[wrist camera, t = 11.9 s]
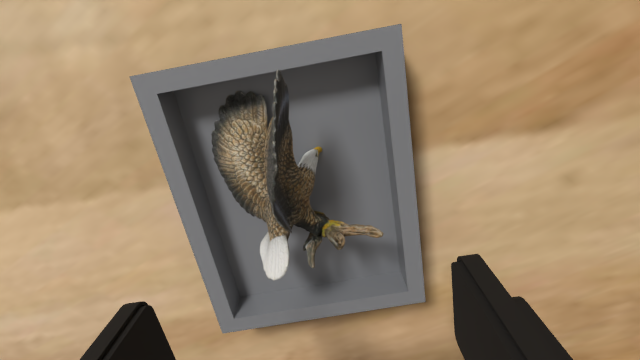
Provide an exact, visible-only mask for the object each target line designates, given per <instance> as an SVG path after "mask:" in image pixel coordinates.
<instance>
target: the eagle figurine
mask: <svg viewBox="0 0 640 360" xmlns="http://www.w3.org/2000/svg"><path fill="white" fill-rule="evenodd" d="M273 99H274V103H273V117H272V119H271V121H270V124H269V127H268V125H267V108H266V102H265V98H264V96H263V95H258V96H256V95H255V94H254V93H253V92H252V91H250V92H248V93H247V94H246V95H245V94H244V93H243V92H241V91H236V93H235V95H228V96H227V98H226V103H225V106H223V105H222V106H220V108H219V118H220V120H216V121H215V122H214V126H215V130H213V131H212V134H211V135H212V140H211V141H212V145H213V147H212V152H213V154H214V161H215V163H216V164H217V166H218V170H219V171H220V174H221V176H222V177H223V178H224V182H225V183H226V184H227V187H228V189H229V190H230V191H231V192H232V195H233V197H234V198H235V200H236V202H238V203H239V205H240V206H241V207H242V208H244V209H245V211H246V212H247V213H248V214H251V216H253V217H254V216H256V217H257V218H259V219H262V220H263V221H264V222H266V223H267V227H268V232H267V234H266V235H265V237H264V238H263V240H262V241H261V244H260V255H261V259H262V262H263V269H264V271H265V272H266V275H267V277H268V278H269V279H272V280H278V279H281V278H282V276H284V275H285V274H286V271H287V270H288V267H289V258H290V255H289V245H288V238H289V235H290V233H292V227H293V225H295V226H297V227H301V228H303V229H305V230H306V231H308V232H310V233H309V236H308V238H307V240H306V241H305V243H304V245H303V251H305V250H306V251H307V256H308V264H309V266H310V267H311V268H315V253H316V250H317V248H318V247H319V245H320V244H321V242H322V237H327V238H328V239H329V241H330V242H331V243H332V244H333V246H334V247H335V248H336V249H337V250H341V249H342V248H343V247H344V245H345V237H346V236H356V235H367V236H369V237H373V238H380V237H383V232H382V231H380V230H379V229H377V228H375V227H373V226H371V225H366V226H365V225H359V224H353V225H348V224H346V223H344V222H341V221H335V220H330V219H329V218H328V217H326V215H325V214H324V213H322V212H319V211H313V209H312V208H311V206H310V201H309V197H310V195H311V193H312V190H313V187H314V182H315V174H316V167H317V162H318V156H319V153H320V152H321V151H322V148H321V147H316V148H314V149H312V150H310V151H308V152H306V153H305V154H304V155H303V157H302V159H301V161H300V162H299V164H298V165H297V164H296V162H295V159H294V154H293V139H292V130H291V127H290V123H289V92H288V87H287V84H286V83H285V82H284V79H283V76H282V75H281V72H280V70H277V71H276V79H275V80H274V91H273Z"/></svg>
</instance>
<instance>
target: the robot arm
mask: <svg viewBox="0 0 640 360" xmlns="http://www.w3.org/2000/svg"><path fill="white" fill-rule="evenodd" d="M451 269H452V289H453V308H454V328H455V336H456V340H457V343H458V346H459V348H460V350H461V353H462V355H463V357H464V359H465V360H573V359H572V358H571V357H570V355H569V354H568V353H567V352H566V350H565V349H564V348H563V347H562V345H561V344H560V343H559V342H558V340H557V339H556V338H555V337H554V335H553V334H552V333H551V332H550V330H549V329H548V328H547V327H546V325H545V324H544V323H543V322H542V320H541V319H540V318H539V317H538V315H537V314H536V313H535V312H534V310H533V309H532V308H531V307H530V305H529V304H528V303H527V302H526V301H525V300H524V299H523V298H522V297H520V296H518V297H511V296H510V295H509V293H508V292H507V291H506V289H505V288H504V287H503V285H502V284H501V283H500V281H499V280H498V279H497V277H496V276H495V275H494V273H493V272H492V271H491V269H490V268H489V267H488V265H487V264H486V263H485V262H484V260H483V259H482V258H481V256H480V255H479V254H473V255H466V256H459V257H458V258H457V262H453V263H452V264H451ZM80 360H176V359H175V357H174V354H173V352H172V350H171V348H170V345H169V343H168V341H167V339H166V336H165V334H164V332H163V330H162V327H161V325H160V323H159V321H158V318H157V316H156V314H155V312H154V309H153V308H152V306H149V305H148V304H147V303H146V302H135V303H128V304H125V305H123V306H122V307H121V308H120V309H119V311H118V312H117V313H116V314H115V316H114V317H113V318H112V319H111V321H110V322H109V323H108V324H107V326H106V327H105V328H104V330H103V331H102V332H101V333H100V335H99V336H98V337H97V338H96V340H95V341H94V342H93V343H92V345H91V346H90V347H89V349H88V350H87V351H86V352H85V354H84V355H83V356H82V357H81V359H80Z"/></svg>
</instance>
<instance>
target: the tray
mask: <svg viewBox="0 0 640 360" xmlns="http://www.w3.org/2000/svg"><path fill="white" fill-rule="evenodd" d="M277 70H280V72H281V75H282V76H283V79H284V82H285V83H286V84H287V87H288V92H289V123H290V127H291V130H292V139H293V154H294V159H295V162H296V164H297V165H298V164H299V162H300V161H301V159H302V157H303V155H304V154H305V153H306V152H308V151H310V150H312V149H314V148H316V147H321V148H322V151H321V152H320V153H319V156H318V162H317V167H316V174H315V182H314V187H313V190H312V193H311V195H310V197H309V201H310V206H311V208H312V209H313V211H319V212H322V213H324V214H325V215H326V217H328V218H329V219H330V220H335V221H341V222H344V223H346V224H348V225H353V224H359V225H365V226H366V225H371V226H373V227H375V228H377V229H379V230H380V231H382V232H383V237H380V238H373V237H369V236H367V235H356V236H346V237H345V245H344V247H343V248H342V249H341V250H337V249H336V248H335V247H334V246H333V244H332V243H331V242H330V241H329V239H328V238H327V237H322V242H321V244H320V245H319V247H318V248H317V250H316V253H315V268H311V267H310V266H309V264H308V256H307V251H306V250H305V251H303V245H304V243H305V241H306V240H307V238H308V236H309V233H310V232H308V231H306V230H305V229H303V228H301V227H297V226H295V225H293V227H292V233H290V235H289V238H288V245H289V255H290V258H289V267H288V270H287V271H286V274H285V275H284V276H282V278H281V279H278V280H272V279H269V278H268V277H267V275H266V272H265V271H264V269H263V262H262V259H261V255H260V244H261V241H262V240H263V238H264V237H265V235H266V234H267V232H268V227H267V223H266V222H264V221H263V220H262V219H259V218H257V217H256V216H254V217H253V216H251V214H248V213H247V212H246V211H245V209H244V208H242V207H241V206H240V205H239V203H238V202H236V200H235V198H234V197H233V195H232V192H231V191H230V190H229V189H228V187H227V184H226V183H225V182H224V178H223V177H222V176H221V174H220V171H219V170H218V166H217V164H216V163H215V161H214V154H213V152H212V147H213V145H212V141H211V140H212V135H211V134H212V131H213V130H215V126H214V122H215V121H216V120H220V118H219V108H220V106H222V105H223V106H225V103H226V98H227V96H228V95H235V93H236V91H241V92H243V93H244V94H245V95H246V94H247V93H248V92H250V91H252V92H253V93H254V94H255V95H256V96H258V95H263V96H264V98H265V102H266V108H267V125H268V127H269V124H270V121H271V119H272V117H273V103H274V99H273V91H274V80H275V79H276V71H277ZM130 79H131V82H132V85H133V88H134V90H135V93H136V96H137V99H138V101H139V104H140V107H141V110H142V112H143V115H144V118H145V121H146V123H147V126H148V129H149V132H150V134H151V137H152V140H153V143H154V145H155V148H156V151H157V154H158V157H159V159H160V162H161V165H162V168H163V170H164V173H165V176H166V179H167V181H168V184H169V187H170V190H171V192H172V195H173V198H174V201H175V203H176V206H177V209H178V212H179V214H180V217H181V220H182V223H183V225H184V228H185V231H186V234H187V236H188V239H189V242H190V245H191V248H192V250H193V253H194V256H195V259H196V261H197V264H198V267H199V270H200V272H201V275H202V278H203V281H204V283H205V286H206V289H207V292H208V294H209V297H210V300H211V303H212V305H213V308H214V311H215V314H216V316H217V319H218V322H219V325H220V328H221V330H222V333H228V332H235V331H241V330H247V329H254V328H260V327H267V326H273V325H280V324H286V323H292V322H299V321H305V320H312V319H318V318H325V317H331V316H337V315H344V314H350V313H357V312H363V311H370V310H376V309H382V308H389V307H395V306H402V305H408V304H415V303H421V302H426V301H425V290H424V278H423V267H422V255H421V244H420V232H419V221H418V209H417V198H416V186H415V175H414V163H413V152H412V140H411V129H410V117H409V106H408V95H407V83H406V72H405V60H404V49H403V37H402V26H401V24H398V25H393V26H387V27H382V28H377V29H372V30H367V31H362V32H357V33H351V34H346V35H341V36H336V37H331V38H326V39H321V40H315V41H310V42H305V43H300V44H295V45H290V46H284V47H279V48H274V49H269V50H264V51H259V52H254V53H248V54H243V55H238V56H233V57H228V58H223V59H218V60H212V61H207V62H202V63H197V64H192V65H187V66H182V67H176V68H171V69H166V70H161V71H156V72H151V73H145V74H140V75H135V76H130Z"/></svg>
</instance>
